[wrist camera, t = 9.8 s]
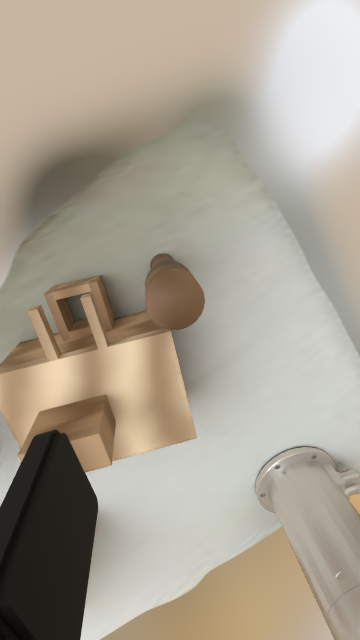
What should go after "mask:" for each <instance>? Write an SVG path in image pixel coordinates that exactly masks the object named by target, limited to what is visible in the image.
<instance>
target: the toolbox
mask: <svg viewBox="0 0 360 640" xmlns="http://www.w3.org/2000/svg"><path fill="white" fill-rule="evenodd" d="M87 292H91V293H92V294H93V297H94V300H95V303H96V306H97V309H98V312H99V315H100V318H101V321H102V324H103V327H104V330H105V333H106V336H107V339H108V341H109V342H112V341H116V340H120V339H124V338H128V337H132V336H136V335H140V334H144V333H148V332H152V331H156V330H160V329H164V328H163V327H161V326H159V325H157V324H156V323H155V322H154V321H153V320H152V319H151V317H150V316H149V314H148V312H147V311H143V312H139V313H136V314H132V315H128V316H124V317H120V318H116V319H115V318H114V315H113V312H112V309H111V306H110V303H109V300H108V297H107V294H106V291H105V288H104V285H103V282H102V278H101V275H99V276H95V277H91V278H87V279H83V280H78V281H74V282H70V283H66V284H62V285H58V286H54V287H52V288H51V289H50V290H49V291H47V292H46V293H45V294H44V295H45V298H46V300H47V303H48V305H49V307H50V310H51V312H52V315H53V317H54V320H55V322H56V325H57V327H58V329H59V332H60V333H56V334H53V335H54V338H55V340H56V343H57V345H58V347H59V350H60V352H61V354H64V353H68V352H72V351H76V350H80V349H84V348H88V347H92V346H96V345H97V344H96V342H95V339H94V336H93V333H92V330H91V327H90V325H89V322H88V319H83V320H79V321H75V322H74V319H73V316H72V314H71V311H70V308H69V306H68V303H67V301H66V298H67V297H71V296H75V295H79V294H83V293H87ZM44 358H47V357H46V354H45V352H44V350H43V347H42V345H41V343H40V340H39V338H37V339H33V340H29V341H25V342H21V343H19V344H18V345H17V346H16V348H15V349H14V350H13V351H12V352H11V353H10V354H9V355H8V356H7V358H6V359H5V360H4V361H3V362H2V363H1V364H0V369H4V368H8V367H12V366H16V365H20V364H24V363H28V362H32V361H36V360H40V359H44Z"/></svg>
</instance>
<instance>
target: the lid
mask: <svg viewBox="0 0 360 640" xmlns="http://www.w3.org/2000/svg"><path fill="white" fill-rule="evenodd" d="M80 299H81V302H82V305H83V308H84V311H85V313H86V316H87V319H88V322H89V325H90V327H91V330H92V333H93V336H94V339H95V342H96V344H97V345H96V346H92V347H88V348H84V349H80V350H76V351H72V352H68V353H64V354H61V352H60V350H59V347H58V345H57V343H56V340H55V338H54V335H53V333H52V330H51V328H50V326H49V323H48V321H47V318H46V316H45V313H44V311H43V309H42V306H41V305H39V306H35V307H31V308H30V309H29V310H28V311H27V313H28V315H29V317H30V320H31V322H32V324H33V327H34V329H35V331H36V334H37V336H38V338H39V340H40V343H41V345H42V347H43V350H44V352H45V354H46V357H47V358H44V359H40V360H36V361H32V362H28V363H24V364H20V365H16V366H12V367H8V368H4V369H0V411H1V413H2V415H3V417H4V419H5V420H6V422H7V424H8V426H9V428H10V430H11V431H12V433H13V435H14V437H15V439H16V441H17V442H18V444H19V446H20V448H21V449H20V452H19V454H18V457H19V458H20V460H21V462H22V460H23V458H24V456H25V454H26V452H27V450H28V447H29V445H30V443H31V441H32V439H33V437H34V436H35V435H37V434H41V433H45V432H48V431H52V430H58V431H59V432H60V433H65V434H66V435H67V436H68V439H69V441H70V443H71V445H72V447H73V449H74V451H75V453H76V455H77V457H78V459H79V461H80V464H81V466H82V468H83V470H84V472H88V471H92V470H95V469H99V468H103V467H106V466H110V465H112V461H115V460H118V459H122V458H126V457H129V456H133V455H137V454H140V453H144V452H148V451H151V450H155V449H159V448H162V447H166V446H170V445H173V444H177V443H181V442H185V441H188V440H192V439H196V438H197V436H196V432H195V428H194V424H193V419H192V415H191V411H190V407H189V403H188V399H187V395H186V391H185V387H184V383H183V378H182V374H181V370H180V366H179V362H178V358H177V354H176V350H175V346H174V342H173V338H172V333H171V330H170V329H166V328H164V329H160V330H156V331H152V332H148V333H144V334H140V335H136V336H132V337H128V338H124V339H120V340H116V341H112V342H109V341H108V339H107V336H106V333H105V330H104V327H103V324H102V321H101V318H100V315H99V312H98V309H97V306H96V303H95V300H94V297H93V294H92V293H89V294H85V295H82V296H81V298H80Z"/></svg>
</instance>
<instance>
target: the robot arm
mask: <svg viewBox="0 0 360 640" xmlns="http://www.w3.org/2000/svg"><path fill="white" fill-rule="evenodd" d="M255 488H256V494H257V497H258V499H259V501H260V503H261V505H262V506H263V507H264V508H265V509H267V510H269V511H270V512H273V513H276V514H277V516H278V518H279V520H280V523H281V525H282V527H283V529H284V531H285V533H286V536H287V538H288V540H289V542H290V544H291V546H292V549H293V551H294V553H295V555H296V557H297V559H298V562H299V564H300V566H301V568H302V570H303V573H304V575H305V577H306V579H307V581H308V583H309V585H310V588H311V590H312V592H313V594H314V596H315V599H316V601H317V603H318V605H319V607H320V609H321V612H322V614H323V616H324V618H325V620H326V623H327V625H328V627H329V629H330V631H331V633H332V635H333V637H334V640H360V515H359V513H357V511H356V509H355V508H354V507H353V505H352V504H351V502H350V501H349V500H348V499H349V496H350V495H353V494H359V493H360V476H359V473H358V472H357V470H356V469H351V470H348V471H346V472H343V473H340V472H339V471H338V472H337V468H336V465H335V463H334V461H333V460H332V459H331V458H330V456H329V455H328V454H326V453H325V452H324V451H322V450H320V449H317V448H312V447H301V448H294V449H291V450H288V451H285V452H283V453H281V454H279V455H278V456H276V457H274V458H273V459H272V460H271V461H269V462H268V463H267V464H266V465H265V466H264V468H263V469H262V470H261V472H260V474H259V475H258V478H257V480H256V486H255ZM97 513H98V502H97V497H96V495H95V493H94V491H93V488H92V486H91V484H90V482H89V480H88V478H87V476H86V474H85V472H84V470H83V468H82V466H81V464H80V461H79V459H78V457H77V455H76V453H75V451H74V449H73V447H72V445H71V443H70V441H69V439H68V436H67V435H66V434H65V433H60V432H59V431H58V430H52V431H48V432H45V433H41V434H37V435H35V436H34V437H33V439H32V441H31V443H30V445H29V447H28V450H27V452H26V454H25V456H24V458H23V460H22V462H21V464H20V467H19V469H18V471H17V473H16V475H15V477H14V479H13V481H12V484H11V486H10V488H9V490H8V492H7V494H6V496H5V498H4V501H3V503H2V505H1V507H0V640H80V637H81V629H82V622H83V615H84V608H85V600H86V593H87V586H88V578H89V571H90V564H91V557H92V549H93V542H94V535H95V527H96V520H97Z"/></svg>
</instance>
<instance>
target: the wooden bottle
mask: <svg viewBox="0 0 360 640" xmlns="http://www.w3.org/2000/svg"><path fill="white" fill-rule="evenodd" d="M145 290H146V308H147V312H148V314H149V316H150V317H151V319H152V320H153V321H154V322H155V323H156V324H157V325H159V326H161V327H163V328H166V329H170V330H179V329H183V328H186V327H188V326H190V325H192V324H193V323H194V322H195V321H196V320H197V319H198V318H199V317H200V315H201V313H202V311H203V308H204V303H205V299H204V293H203V290H202V288H201V287H200V285H199V284H198V282H197V281H196V280H195V278H194V277H193V275H192V274H191V273H190V271H189V270H188V269H187V268H186V267H185V266H184V265H182V264H180V263H178V262H175V261H174V260H173V258H172V257H171V256H170V255H168V254H158V255H156V256H155V257H154V258H153V259H152V261H151V270H150V272H149V273H148V275H147V278H146V283H145Z"/></svg>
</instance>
